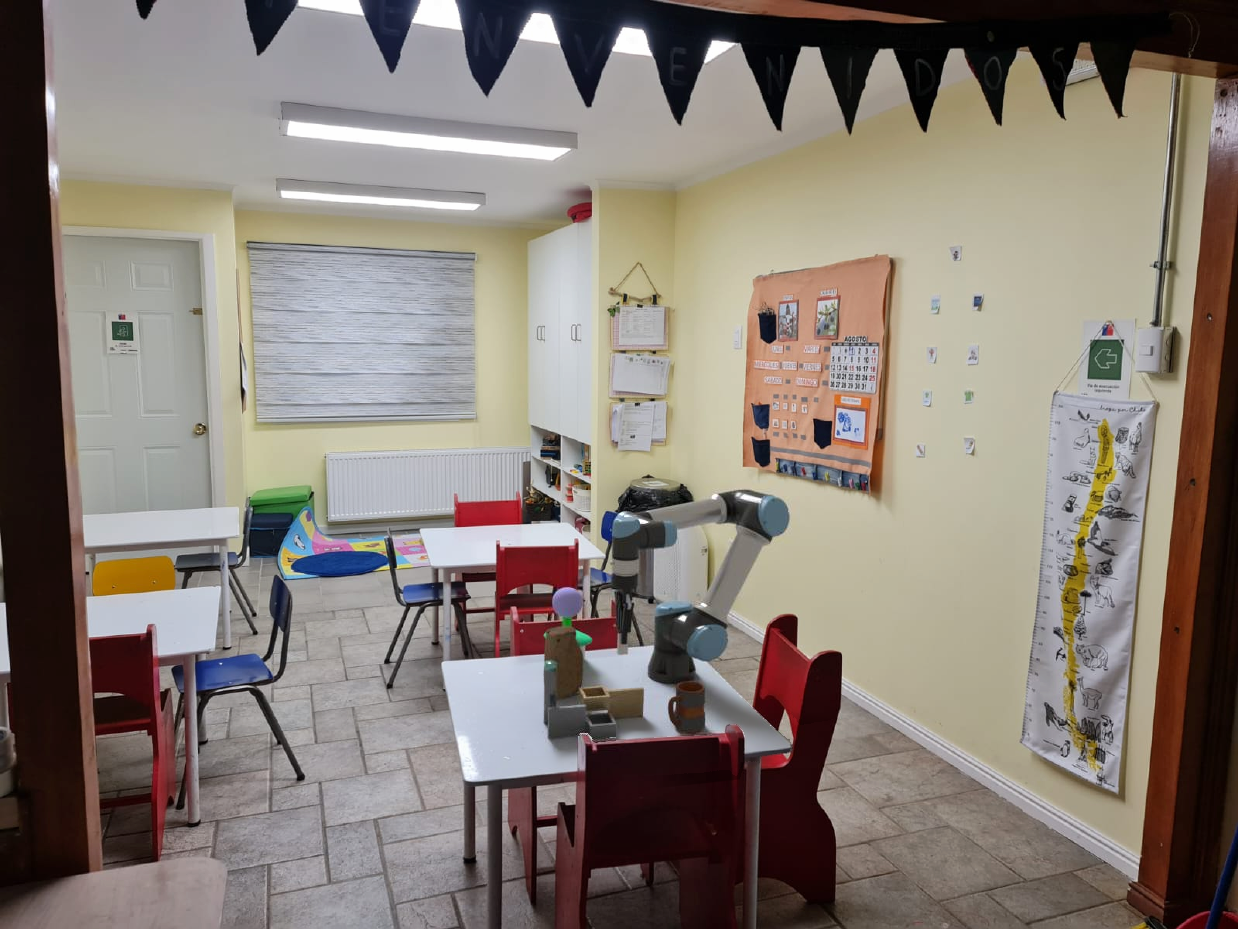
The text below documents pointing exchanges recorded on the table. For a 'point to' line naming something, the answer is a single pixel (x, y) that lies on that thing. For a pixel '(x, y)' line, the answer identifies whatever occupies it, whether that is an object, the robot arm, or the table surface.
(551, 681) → the pin
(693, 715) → the mug
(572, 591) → the toy character
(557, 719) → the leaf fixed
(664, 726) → the table surface
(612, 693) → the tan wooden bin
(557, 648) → the brown rounded block
